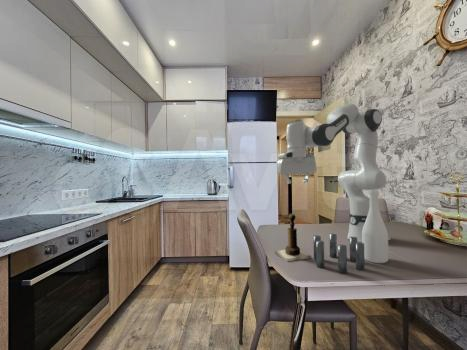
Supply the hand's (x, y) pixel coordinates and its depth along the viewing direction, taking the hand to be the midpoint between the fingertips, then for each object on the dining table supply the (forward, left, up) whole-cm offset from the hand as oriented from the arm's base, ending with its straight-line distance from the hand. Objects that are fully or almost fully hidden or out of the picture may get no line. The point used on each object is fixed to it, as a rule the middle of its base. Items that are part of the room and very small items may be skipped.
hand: (297, 183), depth 114 cm
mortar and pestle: (+6, +4, -32) cm, 33 cm away
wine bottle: (-24, +21, -33) cm, 46 cm away
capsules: (-6, +19, -33) cm, 39 cm away
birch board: (+6, +4, -33) cm, 34 cm away
